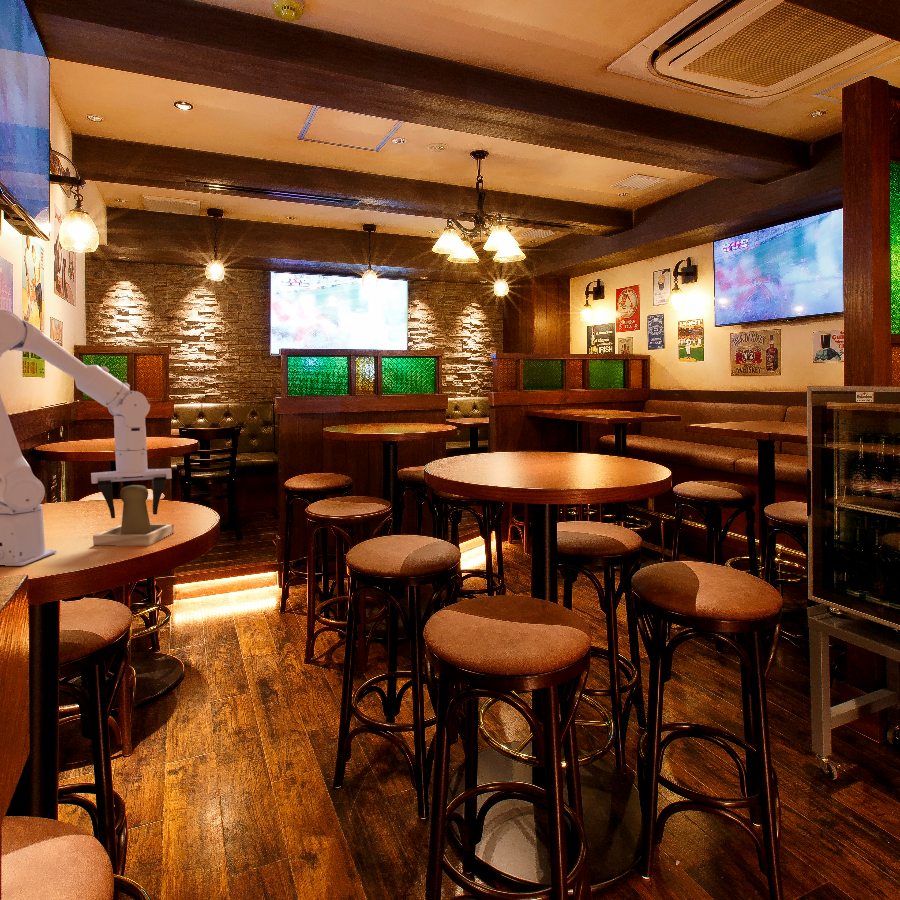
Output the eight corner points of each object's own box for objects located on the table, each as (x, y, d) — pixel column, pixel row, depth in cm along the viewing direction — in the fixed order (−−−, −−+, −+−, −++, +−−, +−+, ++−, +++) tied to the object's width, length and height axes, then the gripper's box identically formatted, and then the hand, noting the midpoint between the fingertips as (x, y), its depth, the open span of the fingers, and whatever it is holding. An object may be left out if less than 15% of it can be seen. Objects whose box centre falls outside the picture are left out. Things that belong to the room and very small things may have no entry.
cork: (118, 542, 124) (115, 488, 123) (122, 536, 130) (119, 484, 129) (151, 540, 127) (148, 486, 125) (153, 533, 132) (151, 482, 131)
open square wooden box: (148, 545, 122) (148, 535, 122) (93, 545, 122) (92, 535, 122) (174, 533, 133) (173, 523, 133) (123, 532, 133) (123, 523, 133)
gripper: (168, 446, 133) (171, 509, 134) (90, 449, 126) (93, 515, 127) (171, 449, 126) (174, 514, 128) (89, 452, 119) (93, 521, 121)
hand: (134, 515), depth 127 cm, fingers open, 7 cm apart
